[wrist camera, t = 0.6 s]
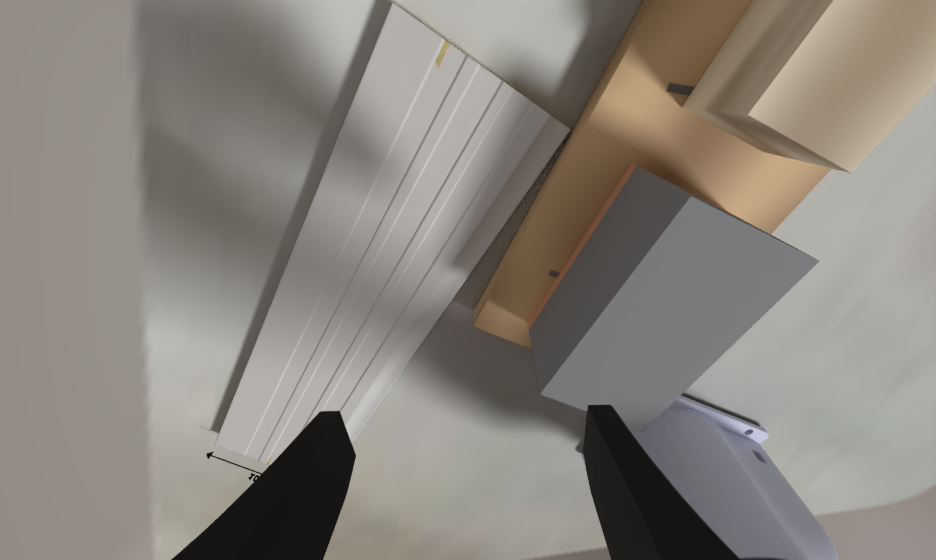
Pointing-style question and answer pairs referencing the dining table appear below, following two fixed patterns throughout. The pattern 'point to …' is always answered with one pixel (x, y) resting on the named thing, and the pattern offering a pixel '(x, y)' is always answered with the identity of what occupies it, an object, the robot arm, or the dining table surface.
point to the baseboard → (388, 234)
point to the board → (641, 155)
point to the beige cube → (820, 76)
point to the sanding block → (654, 298)
